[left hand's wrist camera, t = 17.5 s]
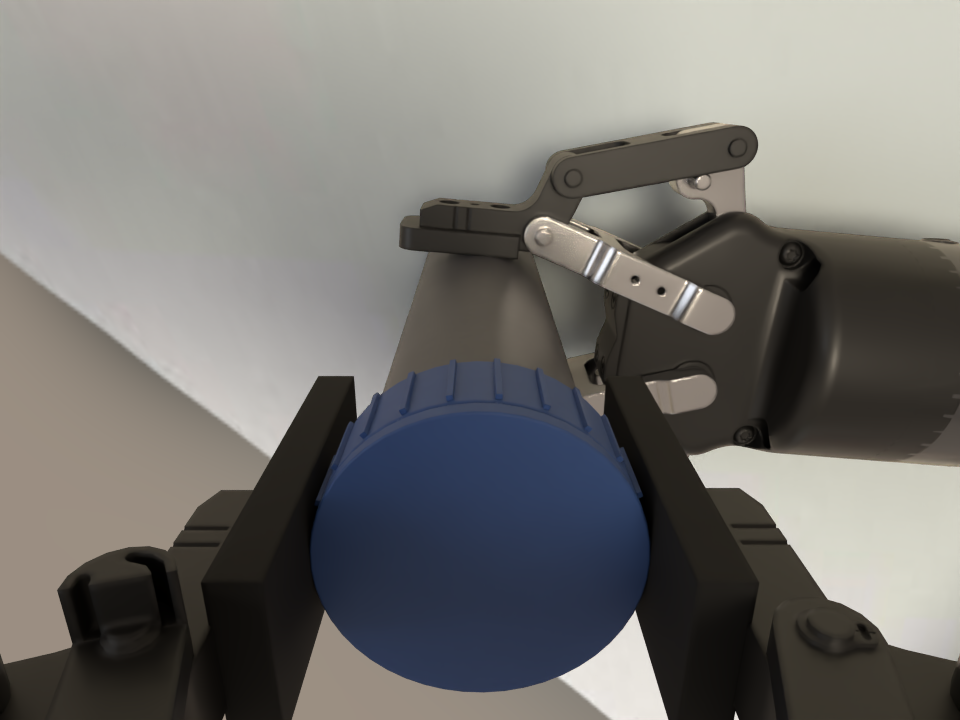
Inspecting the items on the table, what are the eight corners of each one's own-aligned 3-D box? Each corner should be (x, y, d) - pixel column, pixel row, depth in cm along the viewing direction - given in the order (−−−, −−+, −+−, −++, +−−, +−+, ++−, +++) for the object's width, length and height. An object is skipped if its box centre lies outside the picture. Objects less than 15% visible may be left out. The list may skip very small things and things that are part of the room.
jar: (515, 335, 29) (564, 667, 12) (413, 307, 29) (318, 611, 12) (549, 234, 28) (658, 456, 11) (441, 202, 27) (378, 381, 10)
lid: (334, 339, 11) (305, 389, 10) (655, 370, 12) (690, 425, 10) (327, 598, 13) (302, 682, 12) (601, 621, 14) (621, 708, 12)
